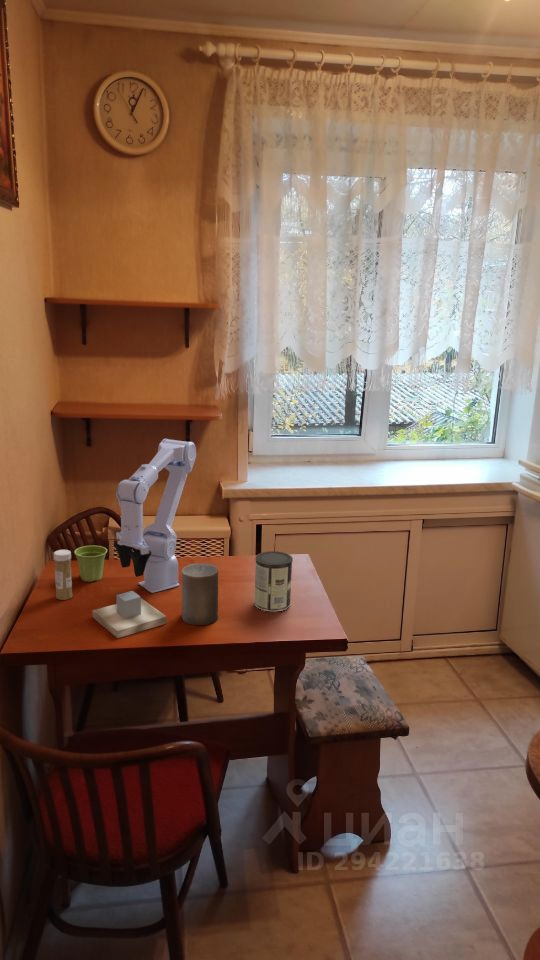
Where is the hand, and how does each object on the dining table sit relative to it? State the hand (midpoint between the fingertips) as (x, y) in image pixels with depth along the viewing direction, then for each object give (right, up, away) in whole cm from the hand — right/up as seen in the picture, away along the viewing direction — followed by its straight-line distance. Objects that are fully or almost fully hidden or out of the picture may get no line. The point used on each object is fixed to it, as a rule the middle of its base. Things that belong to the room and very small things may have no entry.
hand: (132, 571), depth 186 cm
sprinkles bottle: (-20, -8, +4) cm, 22 cm away
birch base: (+1, -12, -8) cm, 14 cm away
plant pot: (-16, -5, +18) cm, 24 cm away
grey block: (+1, -10, -8) cm, 13 cm away
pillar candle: (+19, -12, -4) cm, 23 cm away
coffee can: (+38, -10, +5) cm, 40 cm away
